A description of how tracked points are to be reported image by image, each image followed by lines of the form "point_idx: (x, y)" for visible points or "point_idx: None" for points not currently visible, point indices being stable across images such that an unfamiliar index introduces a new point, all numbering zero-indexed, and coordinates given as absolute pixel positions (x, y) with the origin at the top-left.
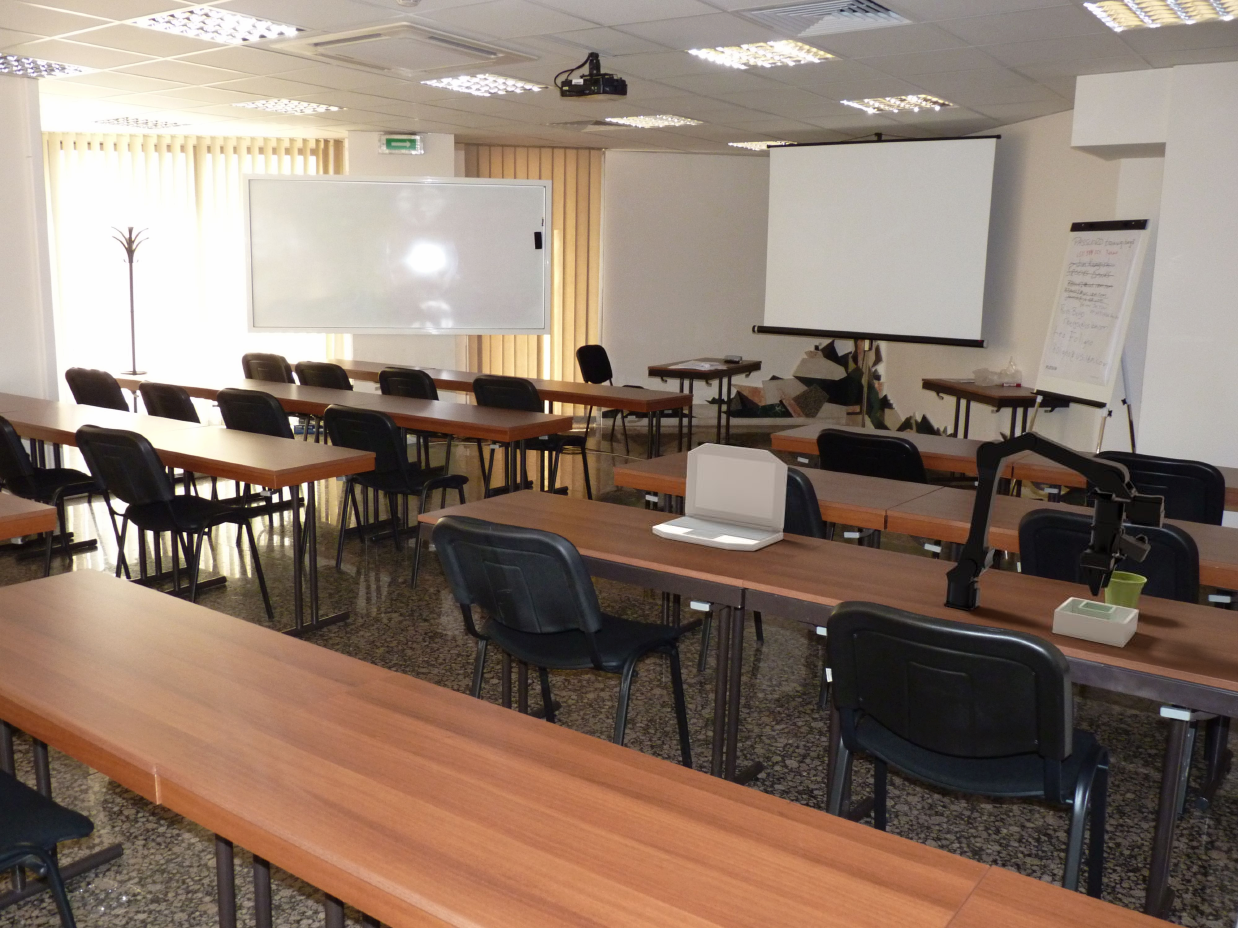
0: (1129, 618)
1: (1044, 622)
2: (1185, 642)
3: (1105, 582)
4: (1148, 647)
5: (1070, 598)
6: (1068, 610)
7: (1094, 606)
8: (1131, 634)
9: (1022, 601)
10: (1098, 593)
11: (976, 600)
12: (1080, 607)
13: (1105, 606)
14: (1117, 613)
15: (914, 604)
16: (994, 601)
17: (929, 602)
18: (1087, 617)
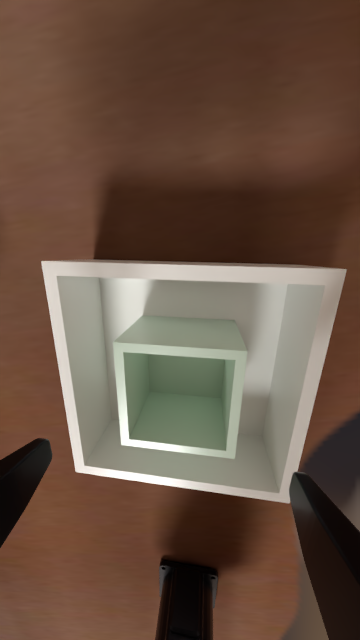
0: (215, 271)
1: None
2: (84, 87)
3: (25, 476)
4: (240, 192)
5: (95, 472)
6: None
7: (131, 406)
8: (165, 261)
9: (61, 500)
10: (323, 492)
11: (195, 591)
12: (231, 451)
13: (127, 377)
14: (80, 327)
15: (240, 631)
16: (107, 538)
17: None
18: (310, 412)
